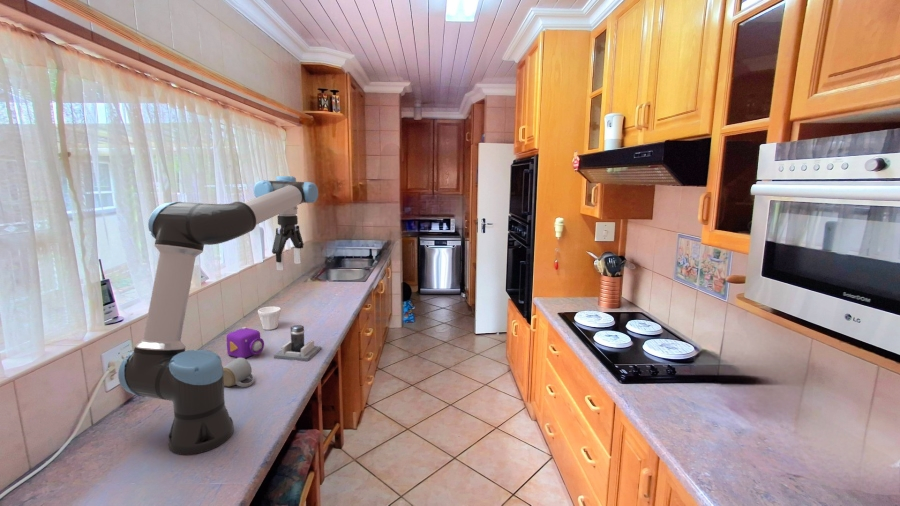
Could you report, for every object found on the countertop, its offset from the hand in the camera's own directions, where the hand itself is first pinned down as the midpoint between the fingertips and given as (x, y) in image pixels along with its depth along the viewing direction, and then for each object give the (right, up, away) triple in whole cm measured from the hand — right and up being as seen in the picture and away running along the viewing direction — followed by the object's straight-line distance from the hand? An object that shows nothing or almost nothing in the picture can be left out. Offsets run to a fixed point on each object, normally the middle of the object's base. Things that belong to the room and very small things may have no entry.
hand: (289, 266), depth 167 cm
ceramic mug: (-7, -40, -26) cm, 48 cm away
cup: (-19, -30, +26) cm, 45 cm away
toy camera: (-15, -36, -3) cm, 39 cm away
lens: (+4, -34, -1) cm, 35 cm away
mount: (+4, -35, -1) cm, 36 cm away
